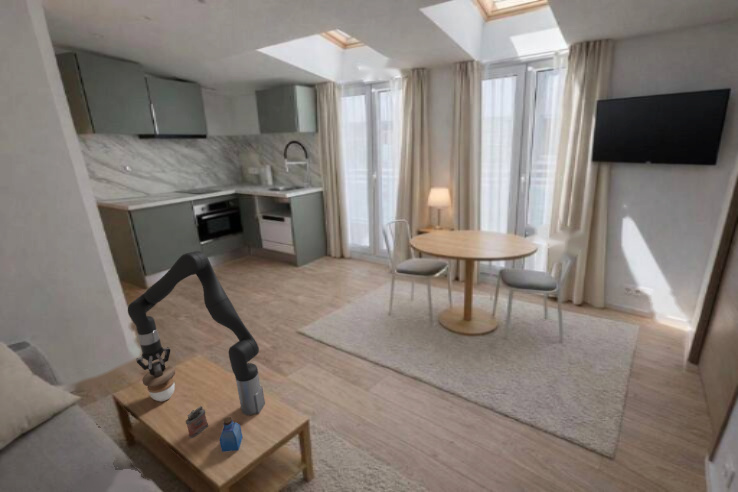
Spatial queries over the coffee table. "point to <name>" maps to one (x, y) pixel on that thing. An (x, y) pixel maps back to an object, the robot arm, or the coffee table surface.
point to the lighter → (196, 422)
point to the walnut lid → (158, 375)
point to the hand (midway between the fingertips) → (158, 372)
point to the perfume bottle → (230, 435)
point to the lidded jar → (162, 390)
